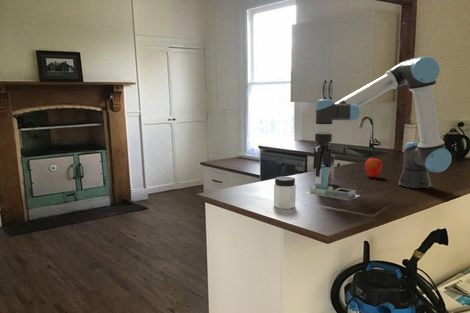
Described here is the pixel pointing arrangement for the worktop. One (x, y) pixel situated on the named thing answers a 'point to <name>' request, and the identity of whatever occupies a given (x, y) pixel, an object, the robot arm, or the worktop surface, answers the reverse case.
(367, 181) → the worktop surface
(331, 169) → the coffee box
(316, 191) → the panel
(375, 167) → the apple
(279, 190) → the jar
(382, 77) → the robot arm
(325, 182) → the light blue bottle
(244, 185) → the worktop surface
